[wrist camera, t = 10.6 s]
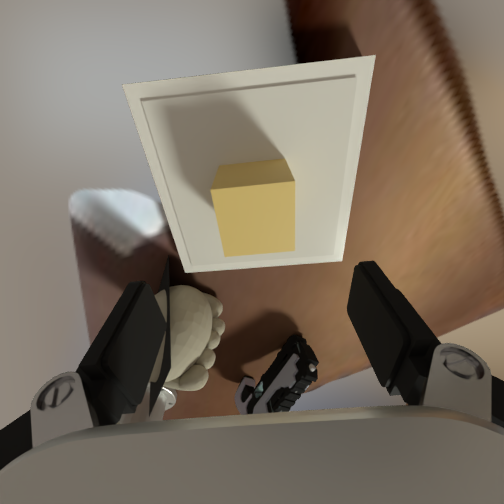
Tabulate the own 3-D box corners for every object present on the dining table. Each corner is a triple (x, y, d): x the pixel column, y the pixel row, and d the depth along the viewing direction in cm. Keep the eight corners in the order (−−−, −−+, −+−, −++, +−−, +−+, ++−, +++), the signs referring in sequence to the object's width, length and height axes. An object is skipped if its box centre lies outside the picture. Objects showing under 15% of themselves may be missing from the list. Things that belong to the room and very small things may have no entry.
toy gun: (297, 318, 38) (326, 371, 29) (243, 394, 43) (252, 463, 33) (285, 313, 38) (310, 366, 28) (231, 391, 42) (238, 460, 32)
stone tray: (336, 249, 25) (342, 262, 24) (189, 261, 26) (184, 274, 24) (362, 57, 16) (377, 54, 14) (134, 84, 17) (120, 84, 15)
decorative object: (229, 262, 29) (206, 310, 34) (141, 251, 25) (129, 308, 30) (258, 360, 20) (221, 406, 25) (128, 370, 16) (115, 423, 21)
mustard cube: (286, 217, 21) (295, 250, 17) (229, 223, 21) (224, 257, 17) (285, 158, 18) (295, 181, 14) (219, 165, 18) (210, 189, 14)
